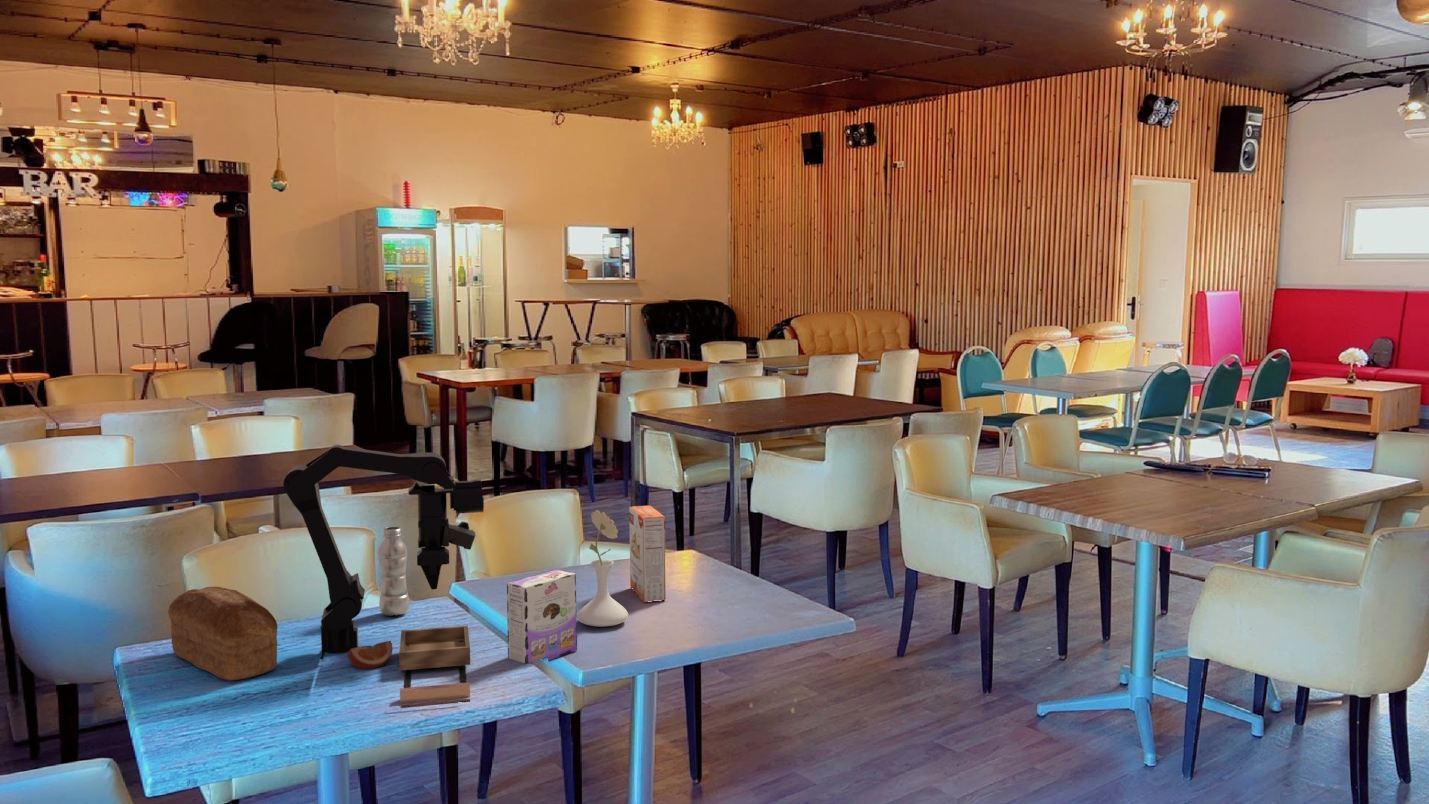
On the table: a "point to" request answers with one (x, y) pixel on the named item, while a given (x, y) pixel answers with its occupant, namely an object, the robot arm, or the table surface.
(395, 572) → the plastic bottle
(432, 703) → the rail track
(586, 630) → the table surface
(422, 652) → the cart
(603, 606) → the flower in vase
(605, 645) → the table surface
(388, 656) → the fruit slice
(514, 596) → the candy box
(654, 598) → the cracker box
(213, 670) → the bread
